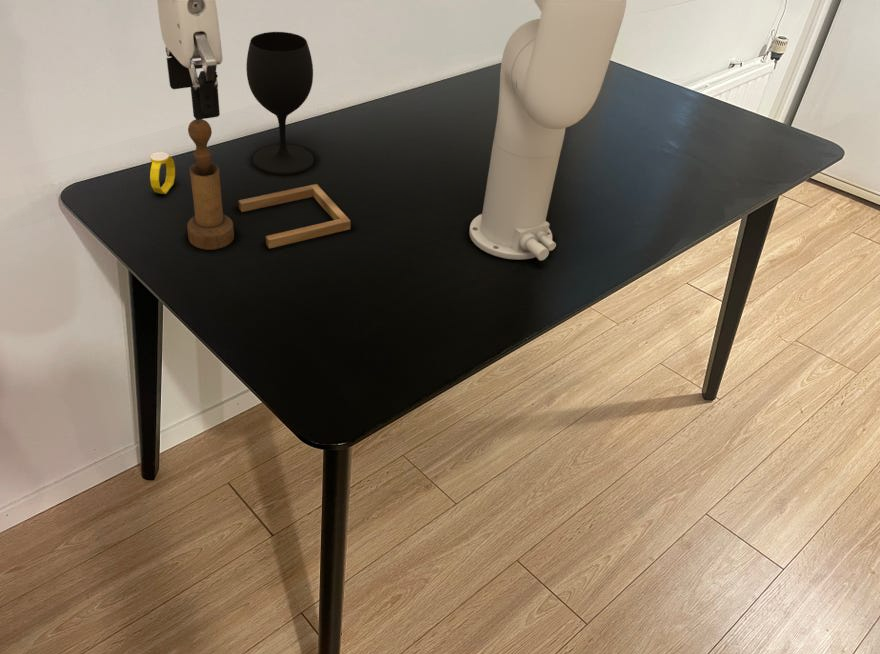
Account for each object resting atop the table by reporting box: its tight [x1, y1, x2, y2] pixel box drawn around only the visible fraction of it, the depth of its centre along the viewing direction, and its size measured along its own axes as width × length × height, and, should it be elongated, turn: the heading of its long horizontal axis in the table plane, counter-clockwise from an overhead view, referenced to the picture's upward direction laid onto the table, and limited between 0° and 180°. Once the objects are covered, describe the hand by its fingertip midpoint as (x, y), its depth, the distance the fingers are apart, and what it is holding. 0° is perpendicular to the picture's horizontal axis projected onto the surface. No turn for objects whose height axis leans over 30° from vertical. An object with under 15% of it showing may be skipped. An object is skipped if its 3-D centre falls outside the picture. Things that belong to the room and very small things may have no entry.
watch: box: [149, 151, 176, 195], centre depth 121 cm, size 6×3×6 cm, turn 169°
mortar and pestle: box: [186, 118, 235, 251], centre depth 108 cm, size 7×6×18 cm
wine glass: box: [245, 31, 315, 176], centre depth 126 cm, size 10×10×20 cm
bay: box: [238, 183, 352, 249], centre depth 119 cm, size 12×13×2 cm
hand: (194, 101), depth 100 cm, fingers open, 9 cm apart
